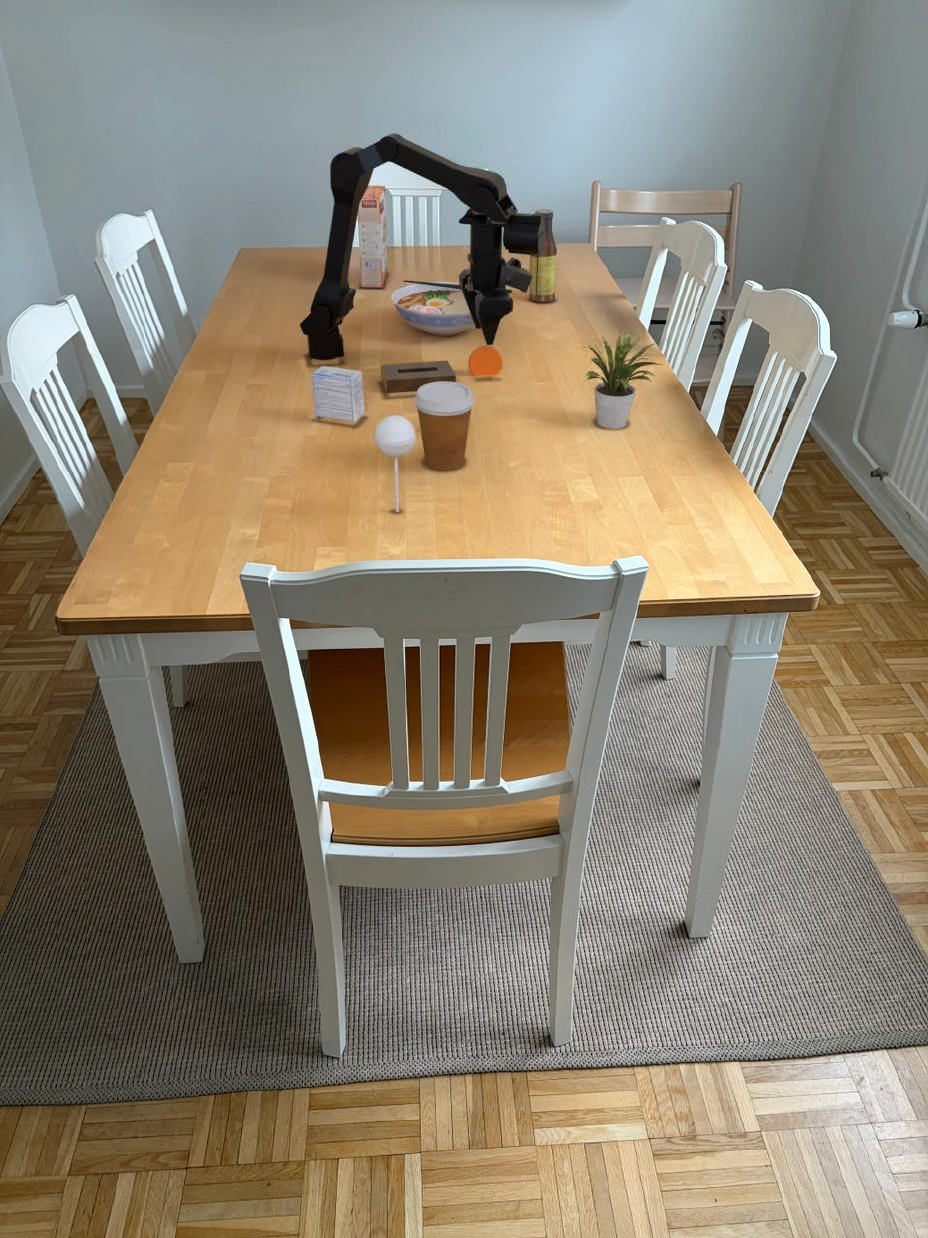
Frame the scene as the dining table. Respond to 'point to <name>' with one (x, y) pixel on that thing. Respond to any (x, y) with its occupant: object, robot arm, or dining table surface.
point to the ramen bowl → (435, 307)
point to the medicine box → (338, 393)
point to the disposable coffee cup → (444, 422)
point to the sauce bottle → (544, 265)
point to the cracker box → (372, 237)
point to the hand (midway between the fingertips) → (484, 336)
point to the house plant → (617, 382)
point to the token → (485, 361)
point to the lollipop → (395, 441)
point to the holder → (415, 375)
